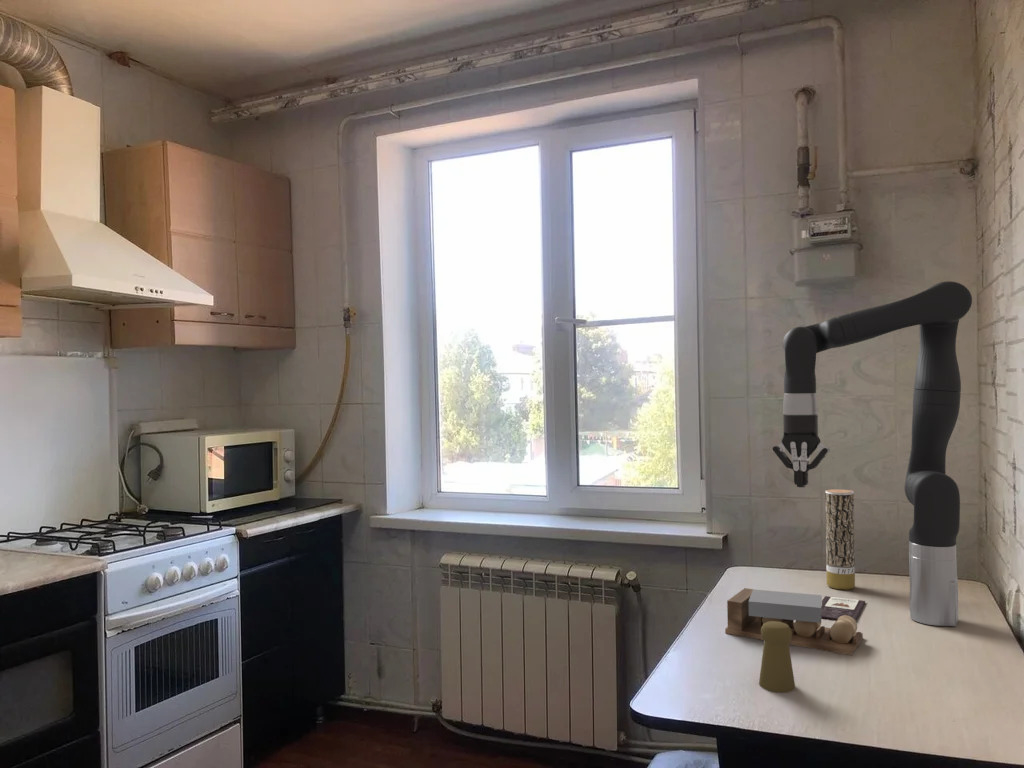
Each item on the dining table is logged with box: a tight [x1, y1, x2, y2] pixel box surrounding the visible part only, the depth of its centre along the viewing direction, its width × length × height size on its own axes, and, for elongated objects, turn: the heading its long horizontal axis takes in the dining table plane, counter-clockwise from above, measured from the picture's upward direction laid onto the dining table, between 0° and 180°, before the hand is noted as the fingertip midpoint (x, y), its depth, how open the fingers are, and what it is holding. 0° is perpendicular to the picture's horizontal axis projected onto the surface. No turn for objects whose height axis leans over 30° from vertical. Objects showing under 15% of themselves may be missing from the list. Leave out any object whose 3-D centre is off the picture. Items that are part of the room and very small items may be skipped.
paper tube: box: [824, 488, 856, 591], centre depth 198 cm, size 7×7×25 cm
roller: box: [762, 617, 786, 624], centre depth 163 cm, size 4×6×4 cm, turn 144°
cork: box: [758, 621, 796, 693], centre depth 134 cm, size 6×6×11 cm
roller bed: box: [724, 587, 864, 656], centre depth 161 cm, size 25×12×7 cm, turn 56°
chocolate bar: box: [822, 595, 866, 622], centre depth 178 cm, size 9×1×18 cm
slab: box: [748, 588, 823, 624], centre depth 160 cm, size 14×10×3 cm
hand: (801, 486), depth 178 cm, fingers closed
